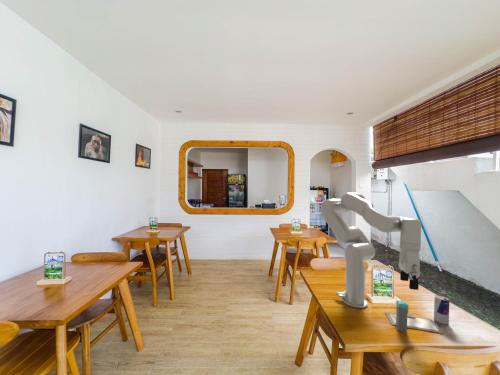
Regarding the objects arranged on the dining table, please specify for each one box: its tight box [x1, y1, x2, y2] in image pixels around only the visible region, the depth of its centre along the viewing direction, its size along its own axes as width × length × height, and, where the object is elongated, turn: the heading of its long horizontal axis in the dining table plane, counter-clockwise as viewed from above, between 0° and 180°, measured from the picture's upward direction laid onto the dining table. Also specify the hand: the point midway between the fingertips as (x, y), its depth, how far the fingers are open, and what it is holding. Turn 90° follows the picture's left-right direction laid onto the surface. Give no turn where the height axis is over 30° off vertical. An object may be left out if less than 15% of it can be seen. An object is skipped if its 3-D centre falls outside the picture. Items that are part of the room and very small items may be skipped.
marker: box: [395, 299, 409, 334], centre depth 102 cm, size 4×3×12 cm
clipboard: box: [384, 311, 445, 335], centre depth 108 cm, size 20×11×1 cm, turn 74°
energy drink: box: [433, 294, 450, 328], centre depth 108 cm, size 5×5×12 cm
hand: (408, 284), depth 103 cm, fingers open, 9 cm apart
